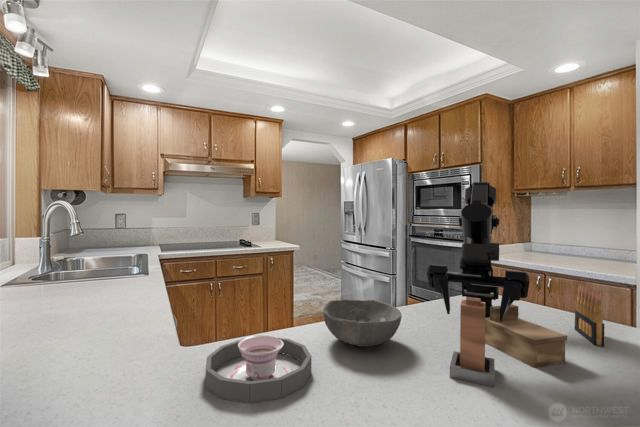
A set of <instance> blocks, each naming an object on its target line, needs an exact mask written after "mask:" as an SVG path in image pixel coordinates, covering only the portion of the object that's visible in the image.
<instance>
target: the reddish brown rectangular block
mask: <svg viewBox="0 0 640 427" xmlns="http://www.w3.org/2000/svg"><path fill="white" fill-rule="evenodd" d="M459 317H460V323H459V324H460V325H459V326H460V330H459V331H460V332H459V334H460V335H459V336H460V338H459V341H460V342H459V345H460V346H459V347H460V349H459V352H460V364H459V366H461V367H466V368H470V369H475V370H480V371H485V372H486V369H485V357H486V350H485V349H486V343H485V302H481V298H472V297H465V299H462V300H461V302H460V316H459Z"/></svg>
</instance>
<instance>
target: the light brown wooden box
mask: <svg viewBox="0 0 640 427" xmlns="http://www.w3.org/2000/svg"><path fill="white" fill-rule="evenodd" d="M485 345H488V346H490V347H493V348H495V349H497V350H499V351H500V352H503V353H504V354H506V355H508V356H511V357H513V358H514V359H517V360H518V361H520V362H522V363H524V364H526V365H528V366H529V367H531V368H534V369H535V368H540V367H544V366H545V367H546V366H551V365H558V364H563V363H566V341H561V342H555V343H548V344H541V345H532V344H530V343H528V342H525V341H523V340H521V339H518V338H516V337H514V336H512V335H509V334H507V333H505V332H502V331H500V330H498V329H496V328H493V327H491V326H489V325H486V324H485Z"/></svg>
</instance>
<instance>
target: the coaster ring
mask: <svg viewBox="0 0 640 427" xmlns="http://www.w3.org/2000/svg"><path fill="white" fill-rule="evenodd" d="M278 338H279V339H280V340H282V341H283V343H284V345H283V347H282V349H281V350H280V351H279V352H278V353H284V354H283V355H286V354H288V355H290V356H289V357H291V356H292V357H291V358H293V357H295V358H297V359H299V360H301V361H302V362H301V361H300V362H301V365H300V367H297V368H296V369H294V370H292V372H290V373H287V374H285V375H283V376H281V377H278V378H273V377H272V378H269V379H264V380H257V381H254V380H247V381H245V380H237V379H230V378H226V377H225V376H223V375H221V374H220V373H218V372H216V370H217V369H218V368H219V367H220V366H222V364H224V363H225V362H228V361H230V360H234V359H236V358H239V357H242V355H241V352H240V351H239V348H238V343H239V342H240V341H241V340H243V339H244V338H242V339H239V340H236V341H233V342H230V343H227V344H224V345H220V346H219V347H218V348H217V349H215V350H214V351H213V352H212V353H209V354H208V355H207V357H206V363H205V388H206V389H207V390H208V391H210V392H212V393H213V394H214V395H215V396H217V397H218V398H219V399H221V400H226V401H233V402H240V403H246V404H253V403H260V402H265V401H273V400H277V399H278V400H279V399H283V398H285V397H286V396H288V395H290V394H292V393H294V392H297V391H298V390H299V389H302V388H303V387H305V385H306V383H307V381H308V380H309V377H310V376H311V374H312V354H311V353H310V352H309V350H308V348H307V346H306V345H305V344H302V343H301V342H297V341H294V340H293V339H290V338H284V337H278ZM288 355H287V356H288ZM295 358H294V359H295ZM297 359H296V360H297ZM299 360H298V361H299ZM302 363H303V364H302ZM307 379H308V380H307Z"/></svg>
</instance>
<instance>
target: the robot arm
mask: <svg viewBox="0 0 640 427" xmlns="http://www.w3.org/2000/svg"><path fill="white" fill-rule="evenodd" d="M464 191H465V193H464V200H465V201H464V202H465V206H464V207H463V208H462V209H461V212H460V213H461V214H460V215H459V218H458V224H459V225H458V226H459V228H460V229H461V230H462V234H463V241H462V242H463V243H461V256H460V261H459V270H460V272H457V271H456V272H455V271H449V268H448V264H447V265H446V264H432V263H430V265H428V266H427V269H426V276H427V281H428V286H429V287H430V288H431V289H434V291H435V292H436V293H437V292H438V293H440V295H441V298H442V300H443V303H444V308H445V311H446V314H447V315H450V312H451V300H450V299H451V297H450V295H451V294H450V286H449V284H450V283H451V282H452V283H460V284H461V297H465V298H466V297H472V298H481V302H485V318H488V317H490V307H491V306H494V305H493V304H492V303H493V301H496V300H499V294H500V293H499V289H500V288H502V295H501V301H500V305H499V306H500V322H502V321H503V319H504V316H505V314H506V312H507V310H508V308H509V307H510V305H512V304H513V303H514V302H515V301H517V302H518V301H520V300H521V299H527V298H528V297H529V295H528V294H529V289H530V275H529V274H528V273H527V271H524V270H523V271H522V270H512V269H511V270H510V269H505V273H504V274H505V275H504V277H503V276H497V275H496V276H494V269H493V267H492V261H493V262H499V261H500V243H498V242H497V243H496V242H492V237H491V236H492V235H493V230H494V231H496V230H497V227H498V226H499V225H500V219H499V218H498V217H497V214H493V212H494V205H496V204H497V188H496V187H494V186H492V185H491V183H490V182H488V181H473V182H470V186H468V187H467V188H465V190H464Z"/></svg>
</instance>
